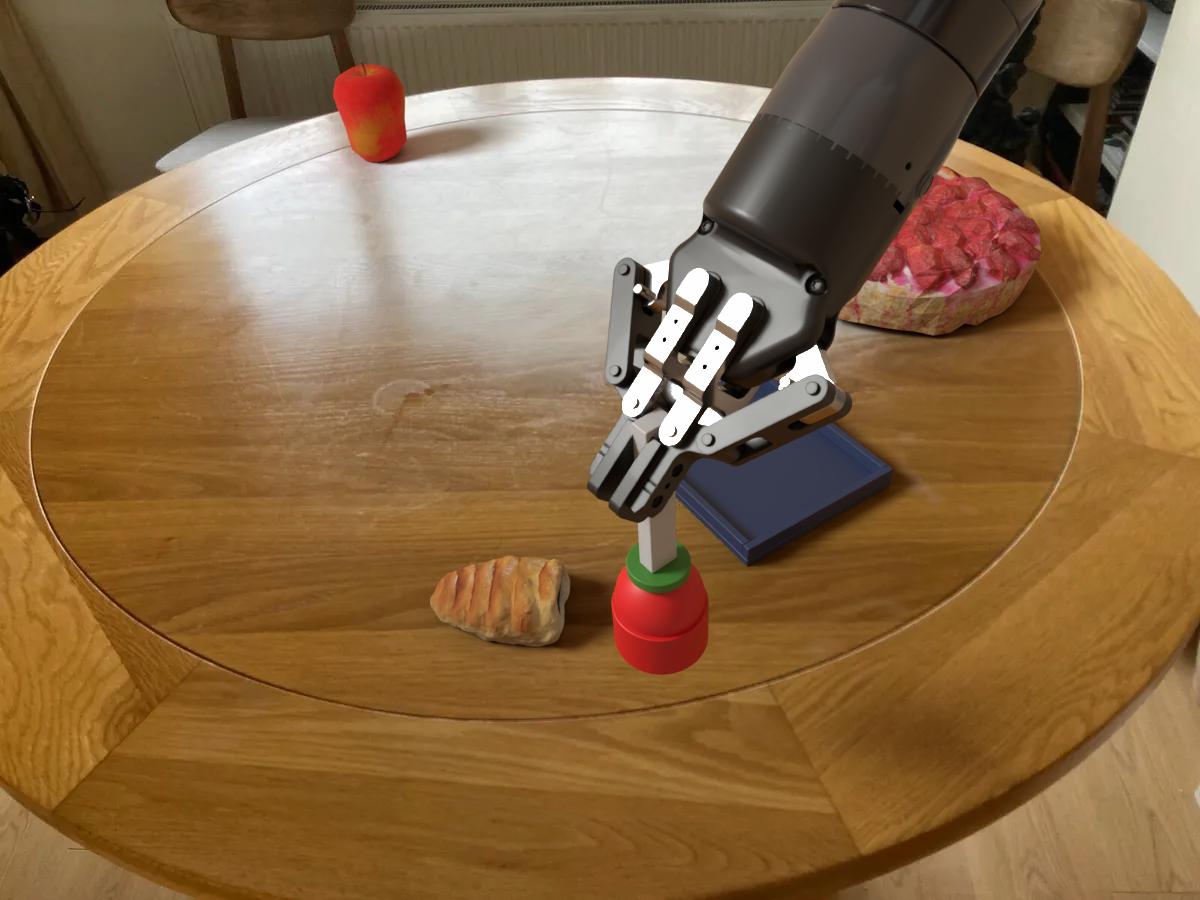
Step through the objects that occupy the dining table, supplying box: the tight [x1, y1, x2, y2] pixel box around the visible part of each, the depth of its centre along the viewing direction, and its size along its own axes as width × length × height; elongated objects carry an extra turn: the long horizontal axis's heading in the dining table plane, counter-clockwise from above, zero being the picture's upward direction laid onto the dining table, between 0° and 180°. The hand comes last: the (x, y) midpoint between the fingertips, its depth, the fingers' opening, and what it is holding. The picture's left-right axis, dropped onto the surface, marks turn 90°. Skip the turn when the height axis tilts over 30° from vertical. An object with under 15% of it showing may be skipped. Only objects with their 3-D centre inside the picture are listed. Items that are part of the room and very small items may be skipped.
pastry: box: [429, 555, 571, 648], centre depth 65 cm, size 9×7×4 cm
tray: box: [675, 378, 894, 567], centre depth 76 cm, size 16×14×2 cm
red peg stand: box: [611, 407, 710, 676], centre depth 46 cm, size 5×5×15 cm
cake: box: [838, 165, 1042, 336], centre depth 94 cm, size 25×25×8 cm
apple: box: [332, 59, 408, 163], centre depth 117 cm, size 9×8×12 cm
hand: (614, 506), depth 42 cm, fingers closed on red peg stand, 1 cm apart
